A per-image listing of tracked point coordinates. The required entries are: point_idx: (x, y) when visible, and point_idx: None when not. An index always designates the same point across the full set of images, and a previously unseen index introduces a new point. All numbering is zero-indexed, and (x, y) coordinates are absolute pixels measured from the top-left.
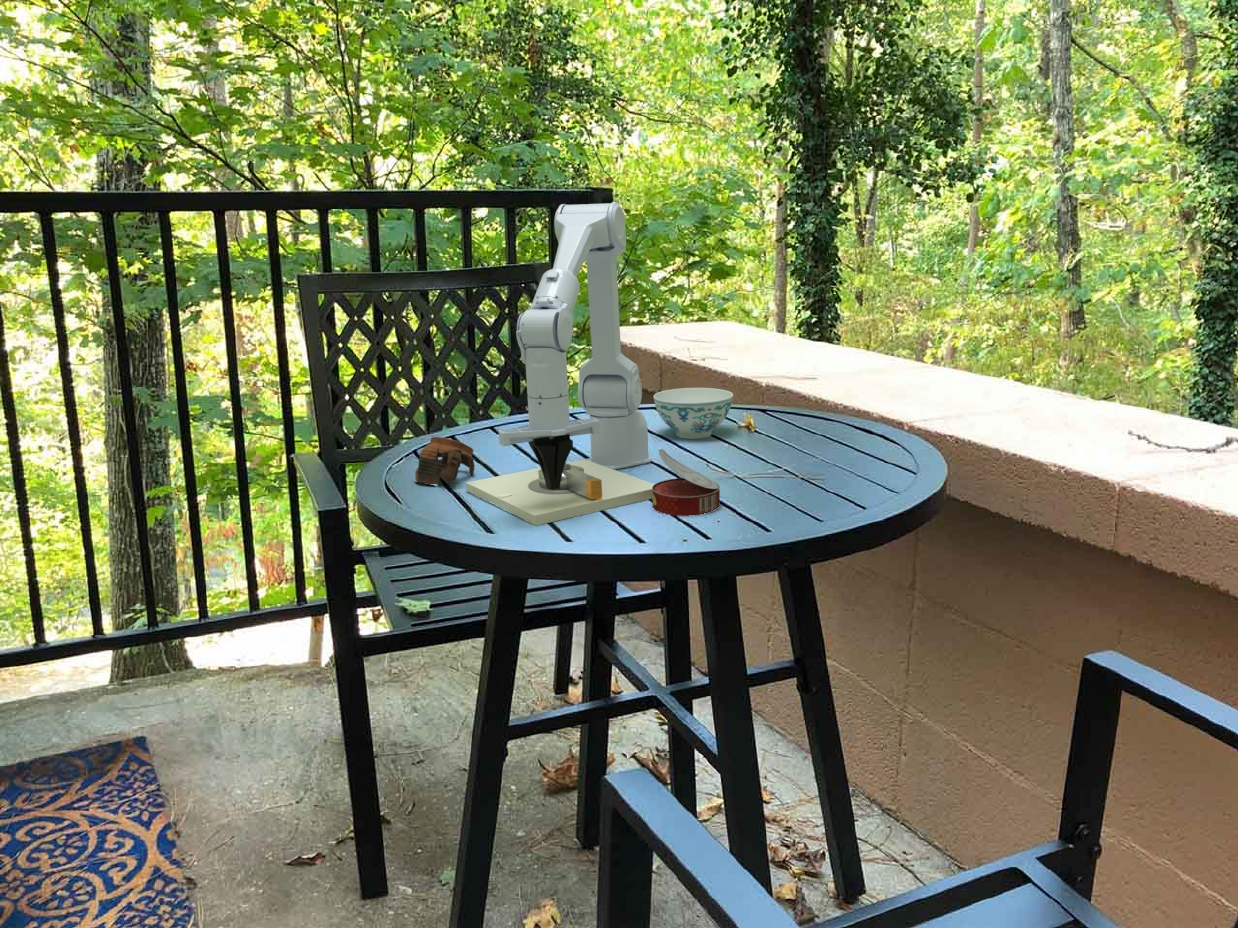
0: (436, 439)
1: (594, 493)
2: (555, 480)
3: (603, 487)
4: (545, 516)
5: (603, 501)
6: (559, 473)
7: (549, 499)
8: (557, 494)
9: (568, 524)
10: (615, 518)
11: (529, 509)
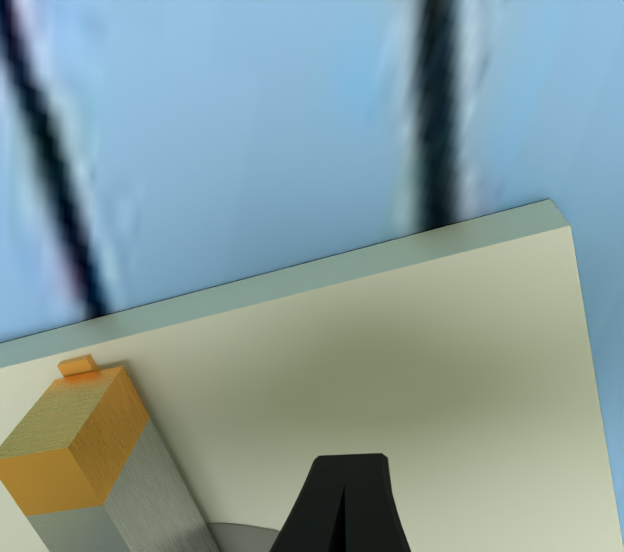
0: None
1: (86, 392)
2: (344, 500)
3: None
4: (472, 239)
5: (59, 348)
6: (299, 545)
7: None
8: None
9: (333, 144)
10: (25, 147)
11: (549, 360)
